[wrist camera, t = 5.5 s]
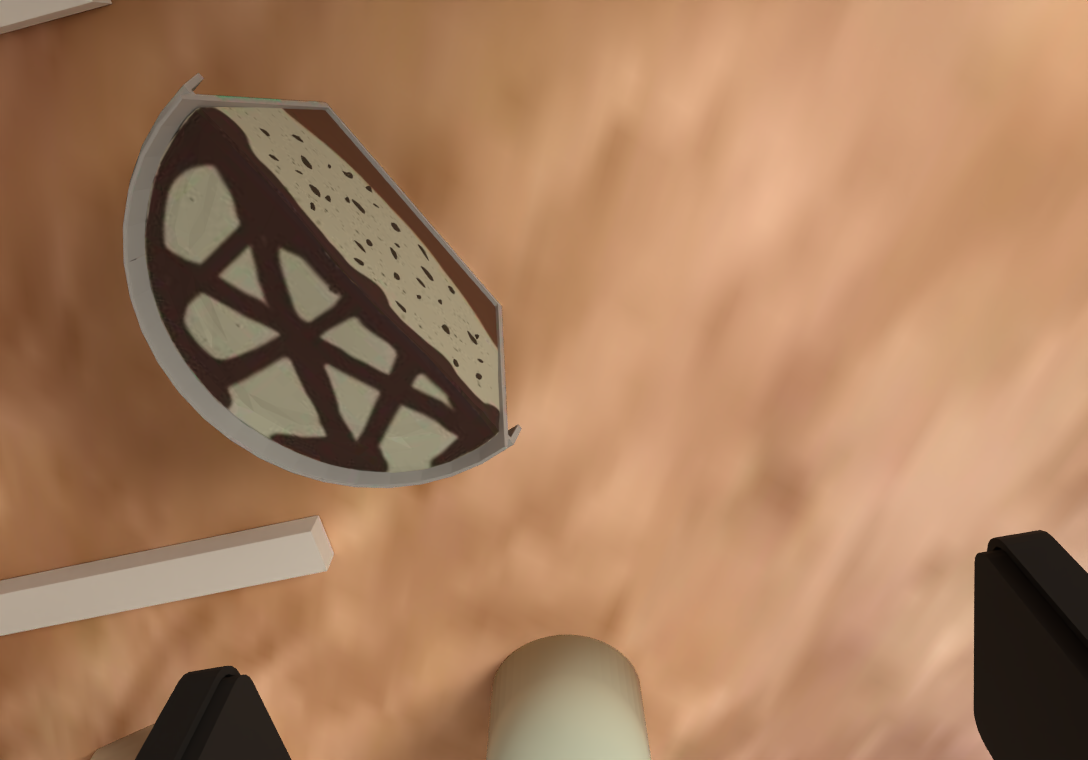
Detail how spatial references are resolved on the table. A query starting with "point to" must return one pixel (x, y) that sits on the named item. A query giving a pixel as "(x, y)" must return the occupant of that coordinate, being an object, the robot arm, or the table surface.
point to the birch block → (123, 747)
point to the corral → (162, 572)
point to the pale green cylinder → (567, 703)
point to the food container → (309, 297)
